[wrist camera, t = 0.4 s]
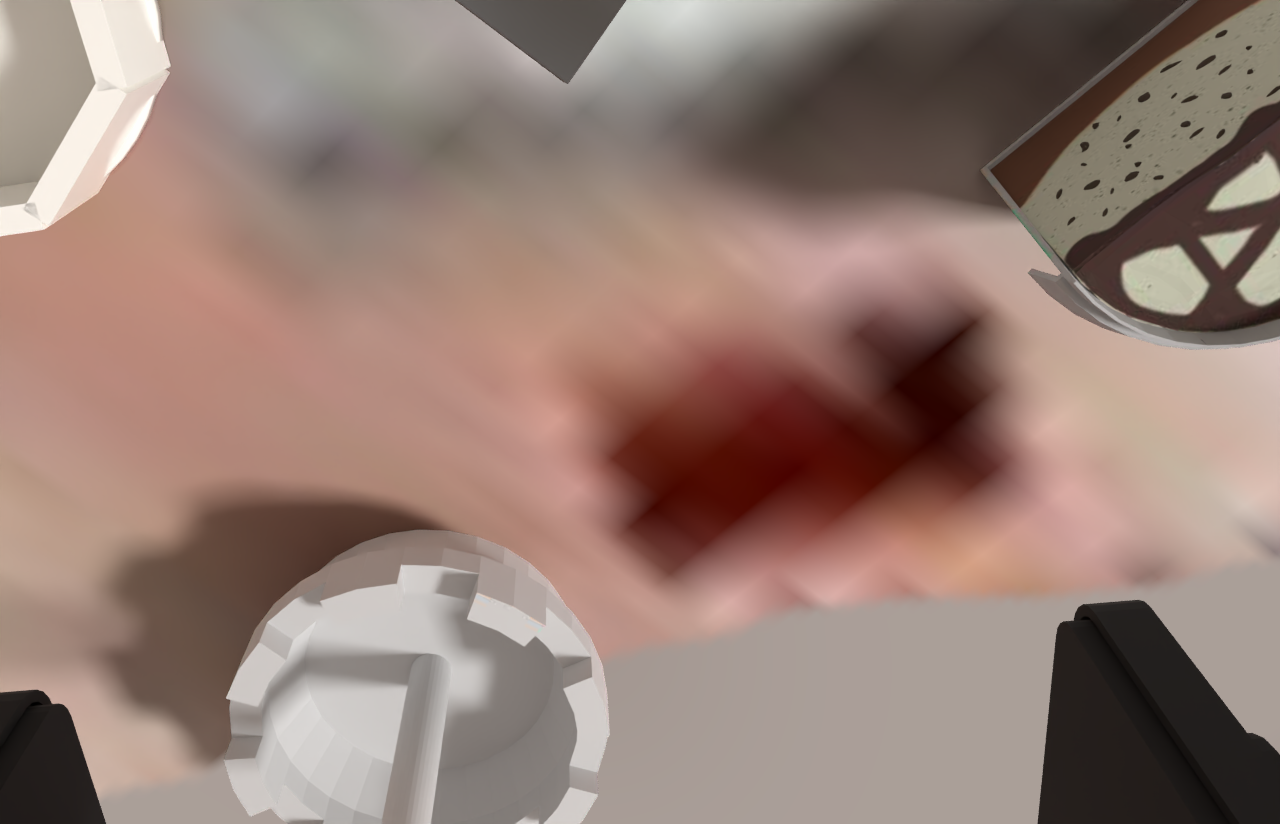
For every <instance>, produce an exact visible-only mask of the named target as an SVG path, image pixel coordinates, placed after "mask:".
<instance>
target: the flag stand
mask: <svg viewBox="0 0 1280 824" xmlns="http://www.w3.org/2000/svg"><path fill="white" fill-rule="evenodd" d="M226 699H229V700H230V706H229V711H230V724H231V736H232V738H231V741H230V744H229V746H228V749H227V751H226V754H225V757H224V759H223V761H224V764H225V767H226V770H227V773H228V776H229V779H230V781H231V785H232V787H233V790H234V792H235V793H236V795H237V797H238V798H239V800H240V801H241V803H242V805H243V806H244V808H245V810H246V811H247V813H248V814H249V816H253V815H255V814H258V813H260V812H263V811H265V810H267V809H270V808H271V809H272V810H273V811H274V812H275V813H276V814H277V815H278V817H279V818H281V819H282V820H284V821H285V822H286V823H288V824H580V823H581V822H582V821H583V819H584V817H585V816H586V814H587V813H588V811H589V809H590V808H591V806H592V804H593V803H594V801H595V799H596V798H597V796H598V776H597V772H598V769H599V766H600V763H601V760H602V756H603V753H604V751H605V747H606V743H607V736H610V731H609V715H608V697H607V690H606V683H605V677H604V672H603V666H602V663H601V661H600V658H599V656H598V654H597V651H596V649H595V647H594V644H593V642H592V640H591V637H590V636H589V634H588V633H587V632H586V630H585V629H584V627H583V626H582V625H581V623H580V622H579V621H578V619H577V618H576V616H575V615H574V614H573V612H572V611H571V610H570V609H569V608H568V607H567V606H566V605H565V603H564V601H563V600H562V598H561V597H560V596H559V594H558V593H557V591H556V590H555V589H554V587H553V586H552V584H551V583H550V582H549V580H548V579H547V578H545V577H544V576H543V575H542V574H541V573H540V572H539V571H538V570H537V569H536V568H535V567H534V566H532V565H531V564H530V563H529V562H528V561H526V560H525V559H523V558H521V557H520V556H518V555H517V554H515V553H513V552H512V551H510V550H508V549H507V548H505V547H503V546H500V545H498V544H495V543H493V542H490V541H488V540H485V539H483V538H480V537H477V536H473V535H468V534H463V533H458V532H453V531H447V530H411V531H404V532H397V533H390V534H386V535H383V536H380V537H377V538H374V539H371V540H368V541H365V542H362V543H360V544H358V545H356V546H354V547H352V548H351V549H349V550H347V551H345V552H343V553H341V554H340V555H338V556H336V557H335V558H334V559H333V560H331V561H330V562H329V563H328V564H327V565H325V566H324V567H323V568H322V569H321V570H320V571H318V572H316V573H314V574H313V575H311V576H309V577H307V578H305V579H304V580H302V581H300V582H299V583H298V584H297V585H296V586H294V587H293V588H292V589H291V590H290V591H288V592H287V593H286V594H285V595H284V596H283V597H281V598H280V599H279V600H278V601H277V602H275V603H274V605H273V606H272V607H271V609H270V610H269V611H268V613H267V614H266V615H265V617H264V618H263V619H262V621H261V622H260V623H259V625H258V626H257V627H256V629H255V630H254V633H253V635H252V637H251V640H250V642H249V644H248V646H247V649H246V651H245V653H244V655H243V658H242V660H241V663H240V665H239V668H238V670H237V672H236V675H235V677H234V680H233V682H232V685H231V687H230V690H229V692H228V694H227V697H226Z"/></svg>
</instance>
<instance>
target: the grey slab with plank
mask: <svg viewBox="0 0 1280 824" xmlns="http://www.w3.org/2000/svg"><path fill="white" fill-rule="evenodd" d="M455 1H457V2H458V3H459V4H461V5H462V6H463V7H465V8H466V9H467V10H469V11H470V12H471V13H473V14H474V15H475V16H477V17H478V18H479V19H481V20H482V21H483V22H485V23H486V24H487V25H489V26H490V27H491V28H493V29H494V30H495V31H497V32H498V33H499V34H500V35H502V36H503V37H504V38H506V39H507V40H508V41H510V42H511V43H512V44H514V45H515V46H516V47H518V48H519V49H520V50H522V51H523V52H524V53H526V54H527V55H528V56H530V57H531V58H532V59H534V60H535V61H536V62H538V63H539V64H540V65H542V66H543V67H544V68H546V69H547V70H548V71H550V72H551V73H552V74H554V75H555V76H556V77H557V78H559V79H560V80H561V81H563V82H565V83H567V84H568V83H569V82H570V80H571V79H572V77H573V76H574V75H575V73H576V72H577V70H578V69H579V67H580V66H581V65H582V63H583V62H584V60H585V59H586V57H587V56H588V54H589V53H590V52H591V50H592V49H593V47H594V46H595V44H596V43H597V42H598V40H599V39H600V37H601V36H602V34H603V33H604V31H605V30H606V29H607V27H608V26H609V24H610V23H611V21H612V20H613V19H614V17H615V16H616V14H617V13H618V11H619V10H620V8H621V7H622V6H623V4H624V3H625V1H626V0H455Z"/></svg>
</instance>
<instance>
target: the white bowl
mask: <svg viewBox="0 0 1280 824" xmlns="http://www.w3.org/2000/svg"><path fill="white" fill-rule="evenodd" d="M170 66H171V65H170V62H169V58H168V55H167V51H166V48H165V44H164V41H163V32H162V21H161V12H160V8H159V3H158V0H0V236H4V235H11V234H18V233H25V232H31V231H38V230H44V229H46V228H47V227H48V226H50V225H52V224H53V223H55V222H56V221H58V220H59V219H61V218H62V217H64V216H65V215H66V214H68V213H69V212H71V211H72V210H74V209H75V208H77V207H78V206H80V205H81V204H83V203H84V202H86V201H87V200H89V199H90V198H91V197H93V196H94V195H96V194H97V193H99V191H100V189H101V188H102V186H103V184H104V183H105V181H106V179H107V177H108V176H109V174H110V173H111V172H112V171H113V170H114V169H115V168H116V167H117V166H118V165H119V163H120V162H121V161H122V160H123V159H124V158H125V157H126V156H127V155H128V153H129V152H130V150H131V149H132V148H133V146H134V145H135V143H136V142H137V140H138V139H139V138H140V136H141V134H142V132H143V130H144V128H145V126H146V124H147V122H148V120H149V118H150V115H151V112H152V109H153V106H154V103H155V100H156V97H157V94H158V92H159V90H160V89H161V87H162V85H163V84H164V82H165V80H166V79H167V77H168V75H169V74H170V72H169V71H167V70H166V68H168V67H170Z"/></svg>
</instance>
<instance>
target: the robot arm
mask: <svg viewBox="0 0 1280 824" xmlns="http://www.w3.org/2000/svg"><path fill="white" fill-rule="evenodd" d="M0 824H106V822H105V819H104V816H103V813H102V810H101V806H100V803H99V800H98V797H97V794H96V791H95V788H94V785H93V782H92V779H91V776H90V773H89V770H88V767H87V763H86V760H85V757H84V754H83V751H82V748H81V745H80V742H79V739H78V736H77V733H76V730H75V727H74V724H73V720H72V717H71V715H70V713H69V711H68V709H67V708H66V707H65V706H64V705H62V704H52V703H51V701H50V699H49V697H48V696H47V695H46V694H45V693H44V692H43V691H39V690H27V691H15V692H2V693H0ZM1038 824H1280V755H1279V753H1278V752H1277V751H1276V750H1275V749H1274V748H1273V747H1272V746H1271V745H1270V744H1269V743H1268V742H1267V741H1266V740H1265V739H1264V738H1263V737H1260V736H1258V735H1256V734H1253V733H1246V731H1245V730H1244V728H1243V727H1242V726H1241V724H1240V723H1239V722H1238V720H1237V719H1236V718H1235V717H1234V715H1233V714H1232V713H1231V711H1230V710H1229V709H1228V707H1227V706H1226V705H1225V704H1224V702H1223V701H1222V700H1221V698H1220V697H1219V696H1218V694H1217V693H1216V692H1215V691H1214V689H1213V688H1212V687H1211V685H1210V684H1209V683H1208V681H1207V680H1206V679H1205V677H1204V676H1203V675H1202V674H1201V672H1200V671H1199V670H1198V668H1197V667H1196V666H1195V665H1194V663H1193V662H1192V661H1191V659H1190V658H1189V657H1188V655H1187V654H1186V653H1185V652H1184V650H1183V649H1182V648H1181V646H1180V645H1179V644H1178V642H1177V641H1176V640H1175V638H1174V637H1173V636H1172V635H1171V633H1170V632H1169V631H1168V629H1167V628H1166V627H1165V626H1164V624H1163V623H1162V621H1161V620H1160V619H1159V618H1158V616H1157V615H1156V614H1155V612H1154V611H1153V610H1152V608H1151V607H1150V606H1149V605H1147V603H1145V602H1144V601H1140V600H1132V601H1120V602H1108V603H1097V604H1083V605H1081V606H1080V607H1078V609H1077V611H1076V613H1075V617H1074V621H1065V622H1062V623H1060V625H1059V627H1058V629H1057V634H1056V642H1055V653H1054V663H1053V673H1052V684H1051V693H1050V703H1049V714H1048V725H1047V734H1046V744H1045V755H1044V764H1043V775H1042V785H1041V795H1040V806H1039V815H1038Z"/></svg>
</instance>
